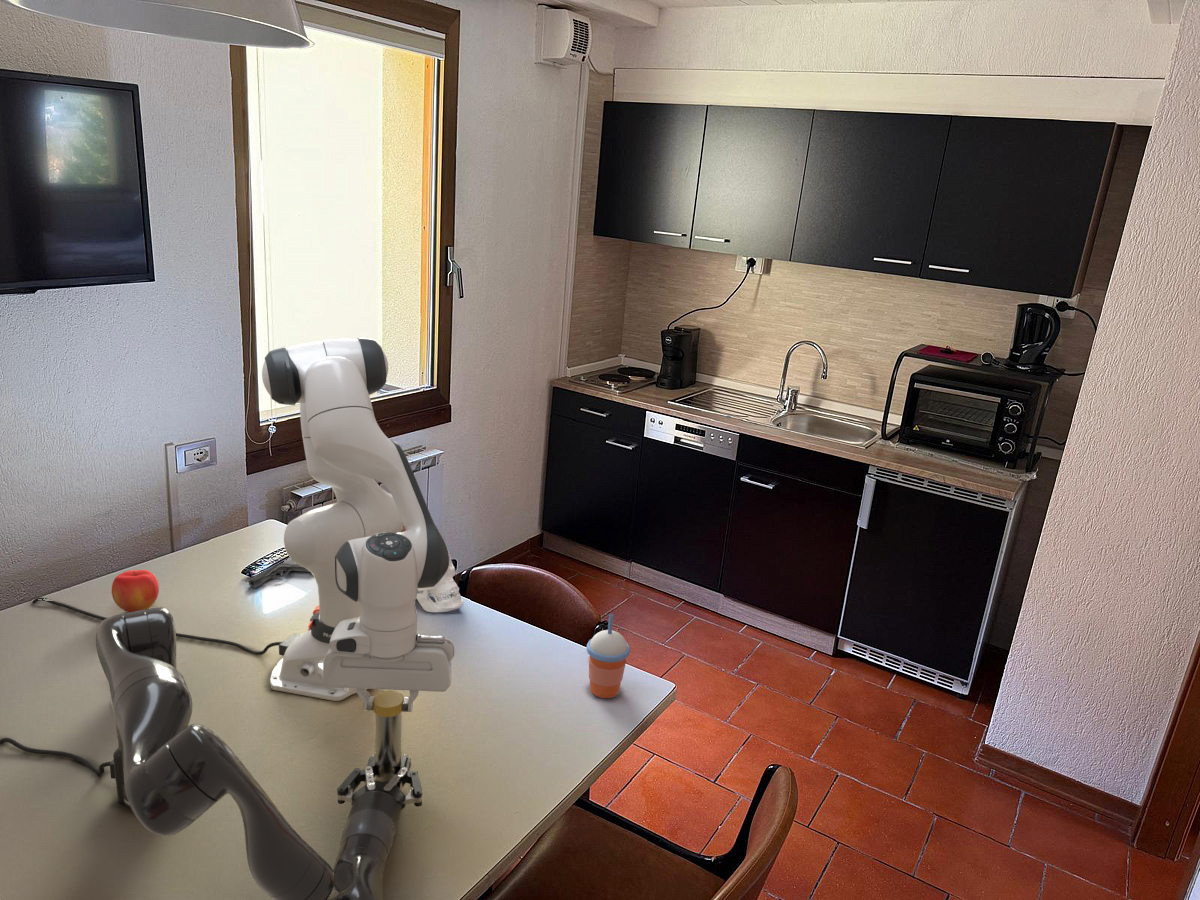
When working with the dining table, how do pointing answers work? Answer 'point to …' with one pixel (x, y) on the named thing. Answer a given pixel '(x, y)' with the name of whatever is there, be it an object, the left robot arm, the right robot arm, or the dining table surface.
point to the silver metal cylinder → (387, 746)
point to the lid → (388, 703)
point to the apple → (135, 590)
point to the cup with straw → (607, 661)
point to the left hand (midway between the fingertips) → (391, 758)
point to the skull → (441, 593)
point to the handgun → (285, 566)
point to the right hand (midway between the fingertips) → (388, 709)
